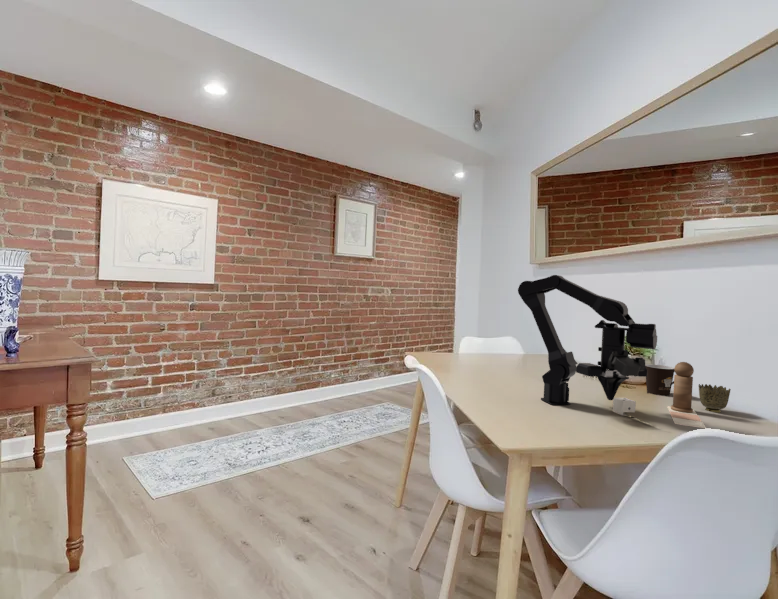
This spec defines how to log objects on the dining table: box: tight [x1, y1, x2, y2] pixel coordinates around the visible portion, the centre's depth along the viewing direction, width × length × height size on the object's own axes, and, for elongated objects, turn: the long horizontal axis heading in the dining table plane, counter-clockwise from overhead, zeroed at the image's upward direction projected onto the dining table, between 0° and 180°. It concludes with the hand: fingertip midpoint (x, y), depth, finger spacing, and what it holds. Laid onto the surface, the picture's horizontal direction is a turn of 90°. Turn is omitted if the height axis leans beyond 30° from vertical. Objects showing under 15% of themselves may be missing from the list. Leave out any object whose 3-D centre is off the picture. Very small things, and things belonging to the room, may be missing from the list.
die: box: [612, 397, 637, 416], centre depth 121 cm, size 4×4×4 cm
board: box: [666, 405, 707, 429], centre depth 117 cm, size 21×8×1 cm, turn 151°
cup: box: [698, 383, 731, 413], centre depth 124 cm, size 8×7×8 cm
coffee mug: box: [645, 363, 675, 397], centre depth 144 cm, size 12×9×10 cm
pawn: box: [671, 361, 695, 414], centre depth 123 cm, size 5×5×14 cm
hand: (610, 399), depth 120 cm, fingers closed
